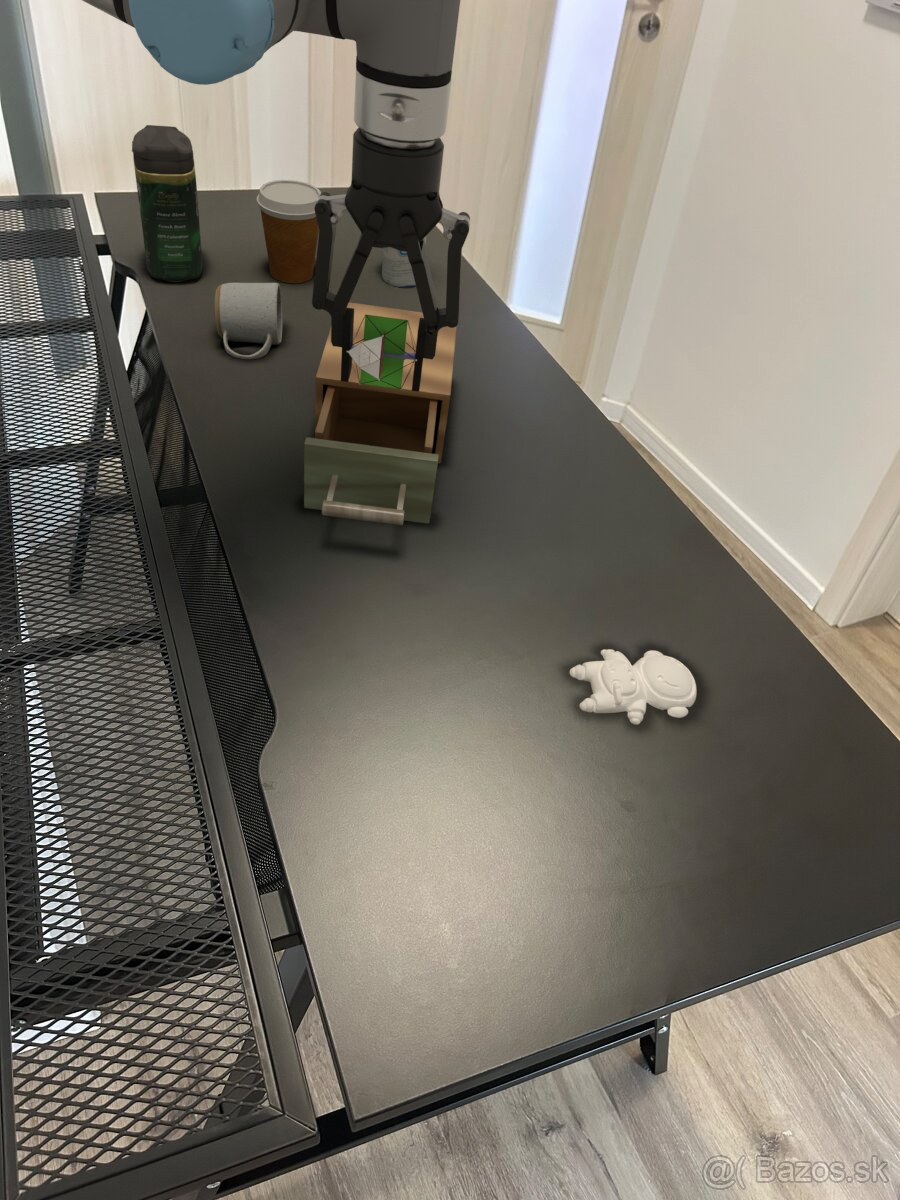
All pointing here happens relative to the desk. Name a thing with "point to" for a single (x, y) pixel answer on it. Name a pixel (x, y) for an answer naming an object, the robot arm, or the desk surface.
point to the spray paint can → (397, 268)
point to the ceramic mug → (249, 315)
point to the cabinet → (433, 370)
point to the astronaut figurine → (637, 685)
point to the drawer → (372, 457)
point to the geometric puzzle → (382, 352)
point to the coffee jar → (168, 202)
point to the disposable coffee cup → (290, 228)
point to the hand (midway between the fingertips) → (381, 378)
